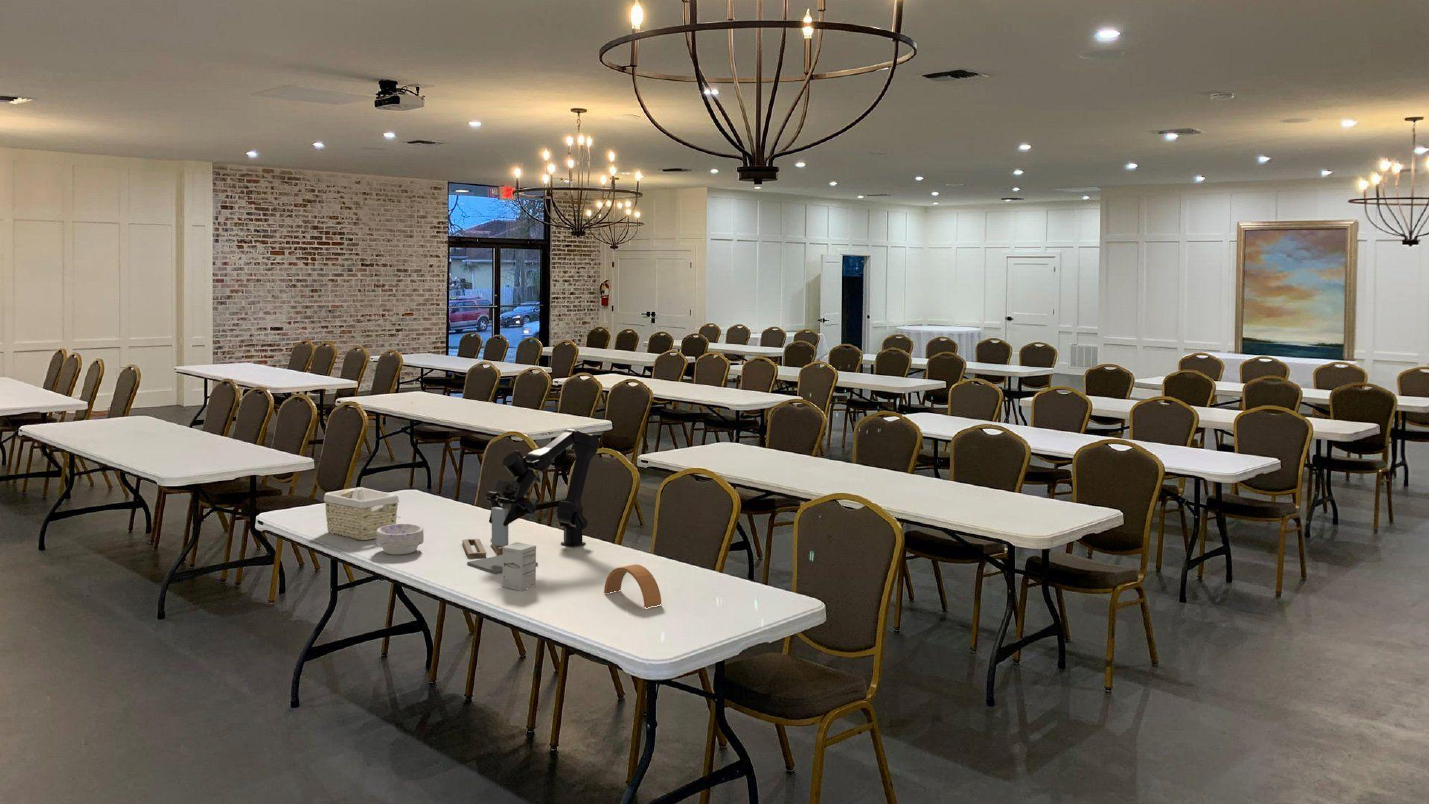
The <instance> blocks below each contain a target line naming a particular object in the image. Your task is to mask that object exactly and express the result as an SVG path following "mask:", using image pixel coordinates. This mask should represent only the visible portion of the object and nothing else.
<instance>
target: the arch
mask: <svg viewBox="0 0 1429 804" xmlns="http://www.w3.org/2000/svg"><path fill="white" fill-rule="evenodd" d="M626 573H628V574H630V576H632V577H633V579H634V580H635V581H636V583H637V584H638V586H639V589H640V591H641V595H642V599H643V607H646V608H648V607H651V606H657V605H660V604H661V605H662V596H661V592H660V588H659V586H658V583H657V581H656V579H655V577H654V575H653V574H652V572H650V570H649V569H647V568H646V567H645V566H643V565H640V564H630V565H625V566H620V567H616V568H614V569H613V570H612V571H611V572H610V573H609V574H608V575H607V577H606V580H605V584H604V587H603V588H604V589H603V594H604V593H610V592H614V591H619V590H621V589H622V583H623V580H624V577H625V575H626ZM621 591H622V590H621Z"/></svg>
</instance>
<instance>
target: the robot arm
mask: <svg viewBox="0 0 1429 804" xmlns="http://www.w3.org/2000/svg"><path fill="white" fill-rule="evenodd" d="M600 442H601V441H600V439H599V437H598V435H596V434H592V433H585V432H581V431H580V430H577V429H573V428H572V429H571V428H567V429H565V430H564V431H563V432H562V433H561V434H560V435H558V436H557V437H556V438H555V439H553V440H551V442H549V443H548V444H547V445H545V446H544V447H541V448H538V449H534V450H532V451H530V452H528V453H527V454H526V455H525V456H523V455H522V453H521V451H520V450H513V452H511V453H509V454H507V455H506V456H505V457H504V458H503V459H502V466H503V467H505V469H506V470H507V472H508V473H509V474H510V475H511V476H512V477H514V478H515V479H514V480H512V479H511V480H509V481H506V480H501V479H496V482H495V485H494V487H493V490H494V491H492V490H491V491H490V490H489V491H487V492H486V494H485V495H484V498H485V499H486V501H487V502H488V503H489V504H490V505H491V508H492V507H499V508H503V507H505V506H506V505H507V506H510V510H509V511H508V515H507V517H506V519H505V521H504V523H503V525H504V526H507V525H508V526H509V525H510V524H511V523H513V522H515V521H516V520H518V519H520V518H522V517H525V516H527V515H531V516H534V514H535V512H536V511H537V506H536V504H535V503H534V502H533V501H532V500H531V498H528V497H529V496H530V495H531V494H530V492H529V490H530V489H531V488H532V487H533V484H534V483H539V484H540V483H541V478H540V474H539V473H536V472H545V471H546V470H547V469H548V468H549V467H550V466H551V465H552V463H553V459H555V458H556V457H557V456H558V455H559V454H561V453H562V452H563V451H565V450H566V449H567V448H569V447H570V446H571V445H573V451H574V454H575V461H574V465H573V469H572V474H571V476H570V481H569V485H568V490H567V494H566V496H565V498H564V499H563V500H559V501H558V505H557V510H556V518H557V519H558V520H557V521H558V523H559V527H563V541H562V542H561V541H560V545H564V546H566V547H571V548H574V547H579V546H584V545H586V544H587V542H585V541H583V532H584V531H583V530H584V529H586V528H587V527H588V524H589V521H588V520H587V519H586V518H585V517H584V515H583V512H584V507H583V504H582V501H581V499H582V497H583V496H582V495H583V492H584V487H585V483H586V479H587V475H588V471H589V467H590V466H589V465H590V462H591V460H592V459H593V458H594V456H596V454H597V452H598V450H599V447H600ZM497 491H499V492H500V493H499V492H497ZM502 496H503V497H502ZM488 522H489V523H490V524H492V509H491V511H490V515H489V520H488Z"/></svg>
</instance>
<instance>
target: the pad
mask: <svg viewBox="0 0 1429 804" xmlns="http://www.w3.org/2000/svg"><path fill="white" fill-rule="evenodd" d="M466 564H467V565H469V566H470V565H471V566H470V567H474V568H476V569H479V568H480V570H482V571H486V572H488V571H490V572H489V573H491V572H492V574H495V575H499V574H503V554H502V555H495V556H490V557H483V558H479V559H476V560H470V561H467V562H466ZM536 565H537V566H538V565H539V562H537V561H536Z"/></svg>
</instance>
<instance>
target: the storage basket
mask: <svg viewBox="0 0 1429 804" xmlns="http://www.w3.org/2000/svg"><path fill="white" fill-rule="evenodd" d="M323 501H324V504H325V516H326V519H325V520H326V528H327V532H328V533H331V534H332V533H335V534H334V535H338V534H339V536H341V535H342V536H341V537H347V538H349V539H355V540H360V541H367V540H374V539H377V536H376V531H377V529H378V528H380V527H383V526H387V525H393V524H397V518H398V516H397V514H398V505H399V503H400V501H399V495H398V494H394V493H390V492H384V491H381V490H380V491H379V490H375V489H372V488H371V489H370V488H366V487H362V486H358V487H354V488H347V489H346V488H345V489H341V490H335V491H328V492H325V493H324V496H323Z"/></svg>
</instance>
